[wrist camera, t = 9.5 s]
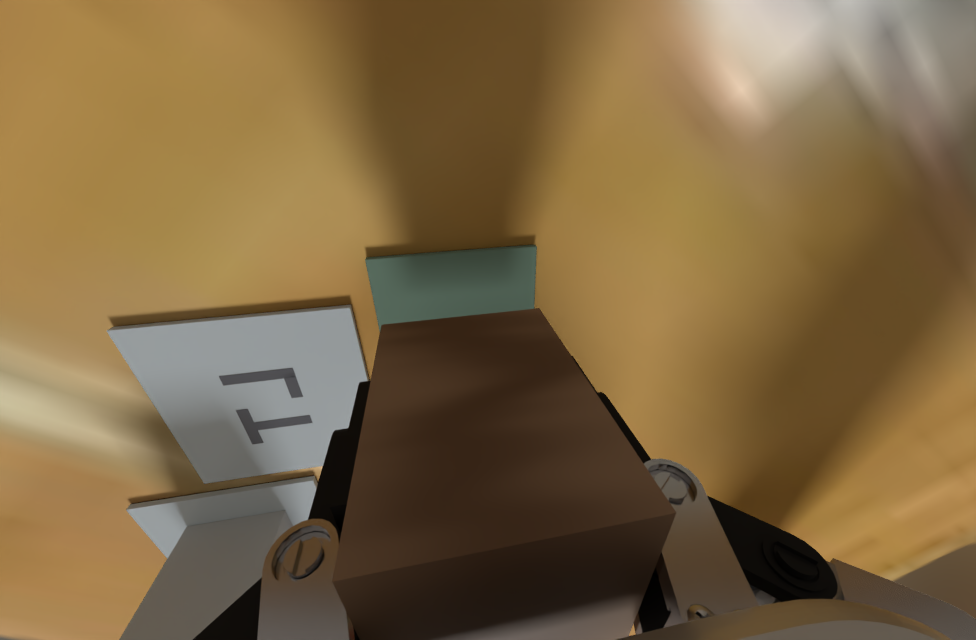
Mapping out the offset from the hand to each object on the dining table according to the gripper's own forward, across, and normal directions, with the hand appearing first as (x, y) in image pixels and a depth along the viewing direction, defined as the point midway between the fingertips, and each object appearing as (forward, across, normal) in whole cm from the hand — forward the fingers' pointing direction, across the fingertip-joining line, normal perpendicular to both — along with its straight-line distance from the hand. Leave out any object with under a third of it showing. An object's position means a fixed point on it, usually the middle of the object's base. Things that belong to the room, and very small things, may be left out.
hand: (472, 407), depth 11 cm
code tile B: (+6, +13, +13) cm, 19 cm away
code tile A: (+6, +9, +3) cm, 11 cm away
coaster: (+6, 0, 0) cm, 6 cm away
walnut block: (+1, 0, 0) cm, 1 cm away
